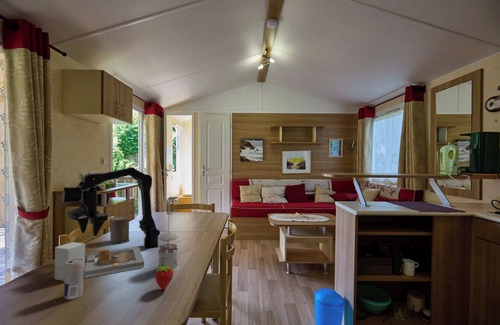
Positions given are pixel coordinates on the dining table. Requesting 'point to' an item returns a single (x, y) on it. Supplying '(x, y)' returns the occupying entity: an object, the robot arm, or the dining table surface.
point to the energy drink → (73, 279)
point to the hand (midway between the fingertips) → (89, 234)
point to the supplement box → (67, 257)
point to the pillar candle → (119, 229)
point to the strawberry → (164, 276)
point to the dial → (113, 257)
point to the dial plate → (96, 270)
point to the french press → (168, 257)
